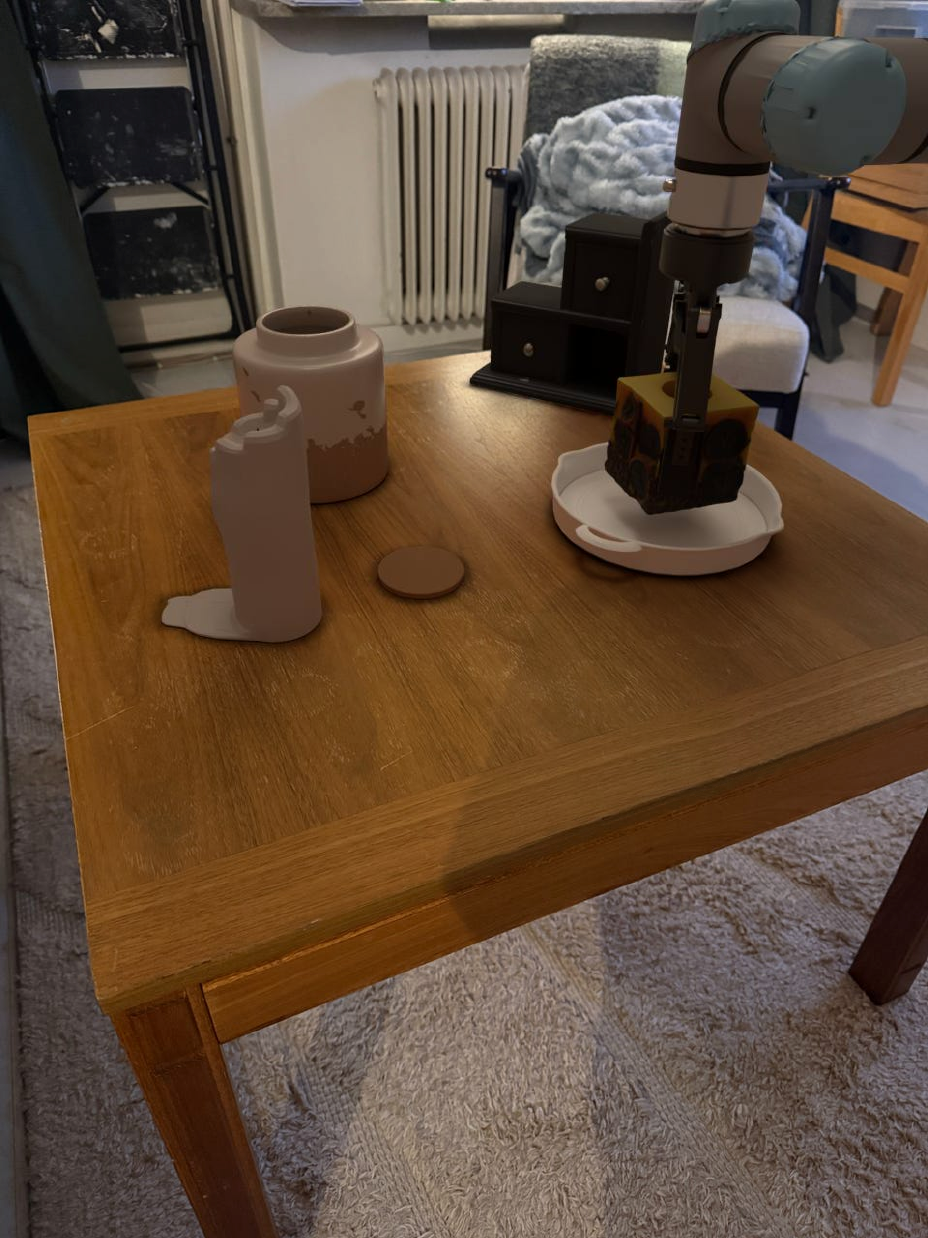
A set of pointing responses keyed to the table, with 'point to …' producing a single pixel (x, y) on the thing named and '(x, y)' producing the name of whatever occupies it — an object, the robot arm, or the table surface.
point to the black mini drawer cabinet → (585, 318)
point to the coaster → (420, 572)
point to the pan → (660, 521)
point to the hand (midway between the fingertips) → (669, 460)
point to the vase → (322, 392)
